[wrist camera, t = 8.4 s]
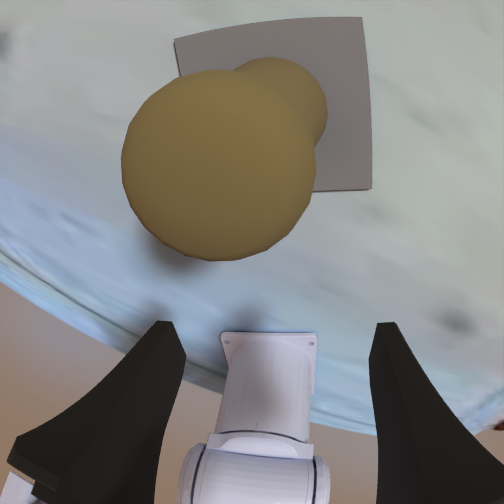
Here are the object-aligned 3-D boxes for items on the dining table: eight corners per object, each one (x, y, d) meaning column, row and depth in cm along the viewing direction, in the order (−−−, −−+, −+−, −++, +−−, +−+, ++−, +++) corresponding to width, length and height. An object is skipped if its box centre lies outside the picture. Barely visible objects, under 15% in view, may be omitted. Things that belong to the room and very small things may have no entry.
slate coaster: (368, 181, 19) (371, 188, 18) (211, 191, 20) (206, 198, 19) (357, 19, 13) (361, 17, 12) (181, 39, 15) (173, 39, 14)
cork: (219, 162, 18) (115, 281, 9) (213, 59, 15) (67, 79, 6) (325, 167, 17) (320, 310, 8) (329, 58, 13) (342, 50, 5)
